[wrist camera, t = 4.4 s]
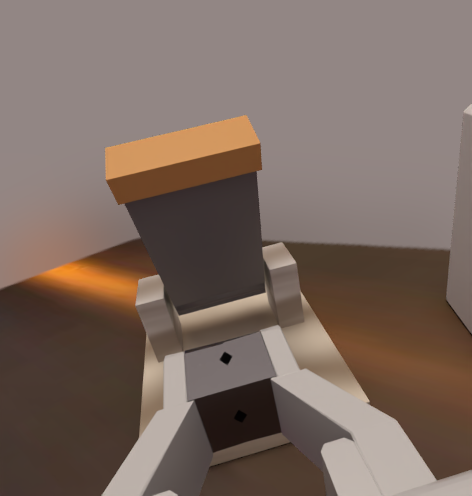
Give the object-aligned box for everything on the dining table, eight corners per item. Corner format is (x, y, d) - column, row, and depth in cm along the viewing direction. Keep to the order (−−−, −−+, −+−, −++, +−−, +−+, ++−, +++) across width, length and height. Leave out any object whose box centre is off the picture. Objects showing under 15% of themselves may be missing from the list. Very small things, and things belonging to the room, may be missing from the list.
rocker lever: (269, 296, 28) (260, 143, 17) (177, 321, 27) (105, 180, 17) (260, 270, 30) (246, 115, 19) (172, 293, 29) (105, 147, 18)
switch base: (370, 418, 22) (367, 330, 19) (144, 486, 21) (101, 406, 18) (278, 264, 40) (269, 206, 36) (154, 297, 39) (133, 240, 35)
